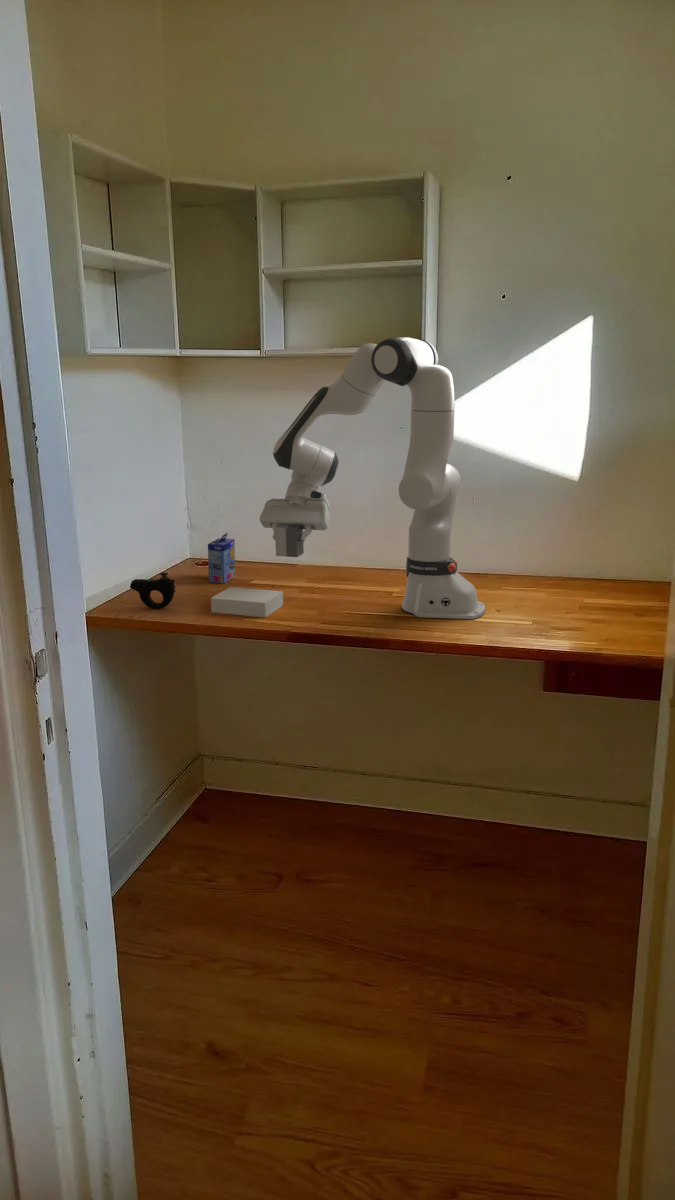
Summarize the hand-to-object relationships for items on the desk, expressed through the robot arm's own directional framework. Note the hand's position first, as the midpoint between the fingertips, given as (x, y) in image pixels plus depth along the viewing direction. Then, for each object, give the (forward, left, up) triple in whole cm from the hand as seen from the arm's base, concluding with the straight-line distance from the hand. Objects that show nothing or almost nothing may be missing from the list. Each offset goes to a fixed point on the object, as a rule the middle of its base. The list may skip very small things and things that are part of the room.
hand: (288, 539), depth 237 cm
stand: (+7, +13, -17) cm, 23 cm away
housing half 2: (-2, -1, -4) cm, 5 cm away
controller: (+32, +20, -17) cm, 42 cm away
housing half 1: (+2, -1, -4) cm, 5 cm away
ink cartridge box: (+28, -14, -17) cm, 36 cm away
